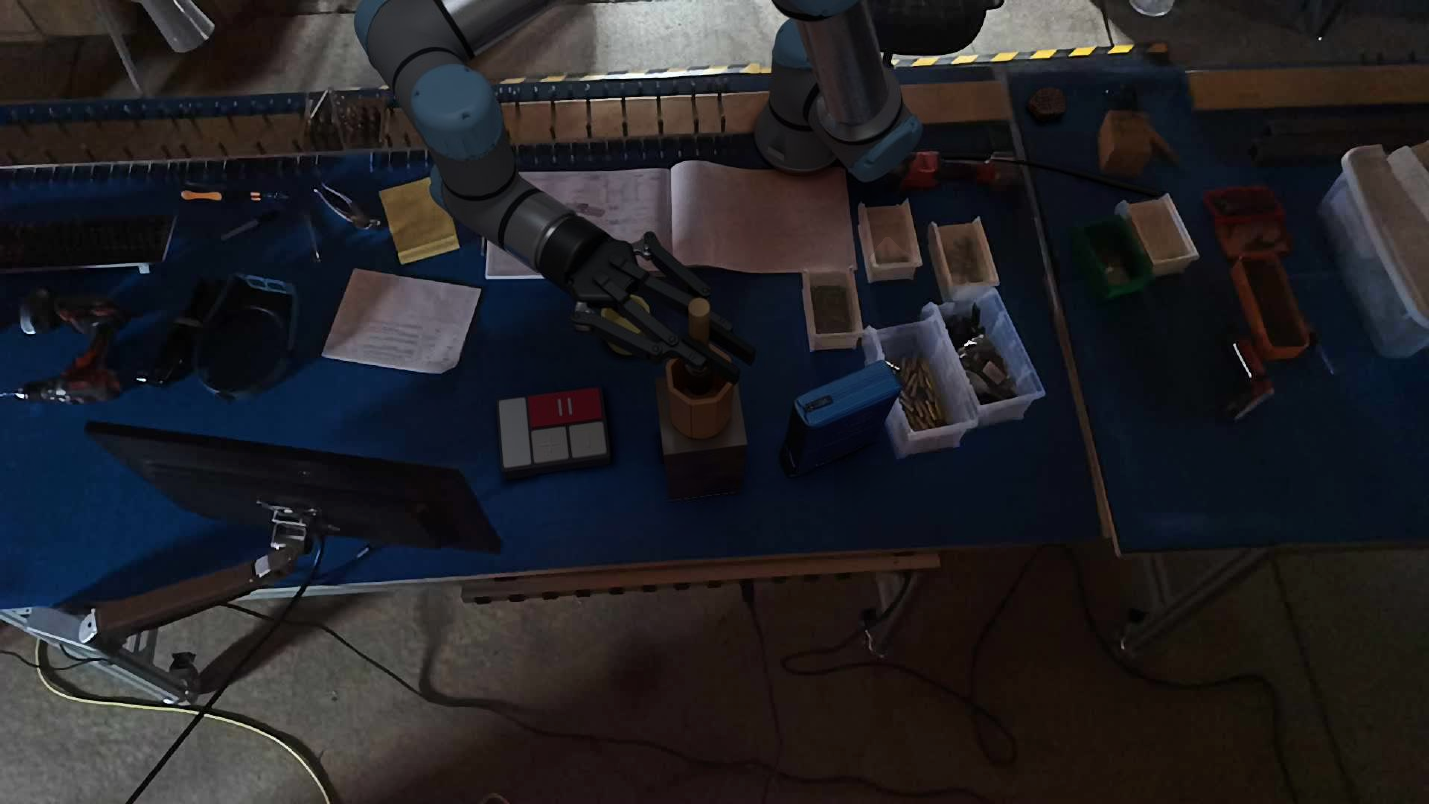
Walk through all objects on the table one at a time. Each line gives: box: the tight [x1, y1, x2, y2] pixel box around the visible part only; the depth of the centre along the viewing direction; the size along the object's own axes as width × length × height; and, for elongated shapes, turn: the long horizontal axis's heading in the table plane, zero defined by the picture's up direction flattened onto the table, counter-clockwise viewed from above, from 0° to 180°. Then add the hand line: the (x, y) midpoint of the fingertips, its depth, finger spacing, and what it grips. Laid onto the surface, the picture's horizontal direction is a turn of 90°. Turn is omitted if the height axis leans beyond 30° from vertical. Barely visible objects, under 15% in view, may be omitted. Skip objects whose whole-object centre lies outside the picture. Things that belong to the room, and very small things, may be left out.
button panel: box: [495, 385, 612, 480], centre depth 119 cm, size 11×4×15 cm
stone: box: [1026, 86, 1067, 122], centre depth 144 cm, size 7×7×3 cm
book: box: [778, 359, 903, 478], centre depth 112 cm, size 14×5×20 cm, turn 115°
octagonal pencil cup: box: [664, 342, 734, 439], centre depth 96 cm, size 7×7×11 cm
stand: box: [653, 376, 749, 504], centre depth 110 cm, size 10×10×20 cm
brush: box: [685, 298, 713, 395], centre depth 86 cm, size 3×3×17 cm
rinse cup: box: [600, 294, 652, 356], centre depth 125 cm, size 7×7×6 cm
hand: (744, 367), depth 82 cm, fingers closed on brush, 2 cm apart
